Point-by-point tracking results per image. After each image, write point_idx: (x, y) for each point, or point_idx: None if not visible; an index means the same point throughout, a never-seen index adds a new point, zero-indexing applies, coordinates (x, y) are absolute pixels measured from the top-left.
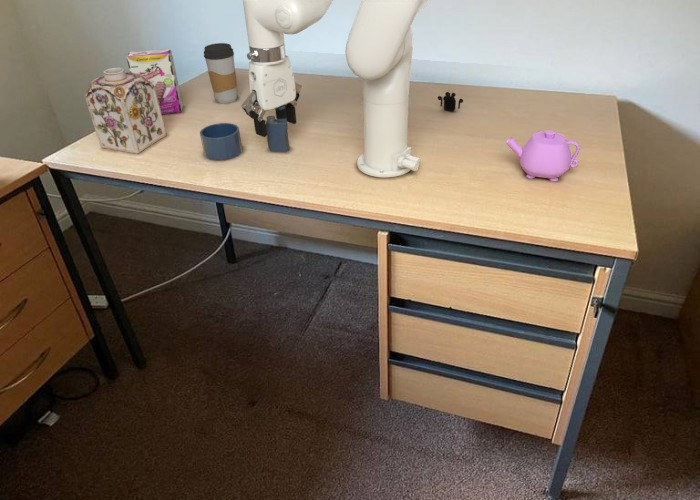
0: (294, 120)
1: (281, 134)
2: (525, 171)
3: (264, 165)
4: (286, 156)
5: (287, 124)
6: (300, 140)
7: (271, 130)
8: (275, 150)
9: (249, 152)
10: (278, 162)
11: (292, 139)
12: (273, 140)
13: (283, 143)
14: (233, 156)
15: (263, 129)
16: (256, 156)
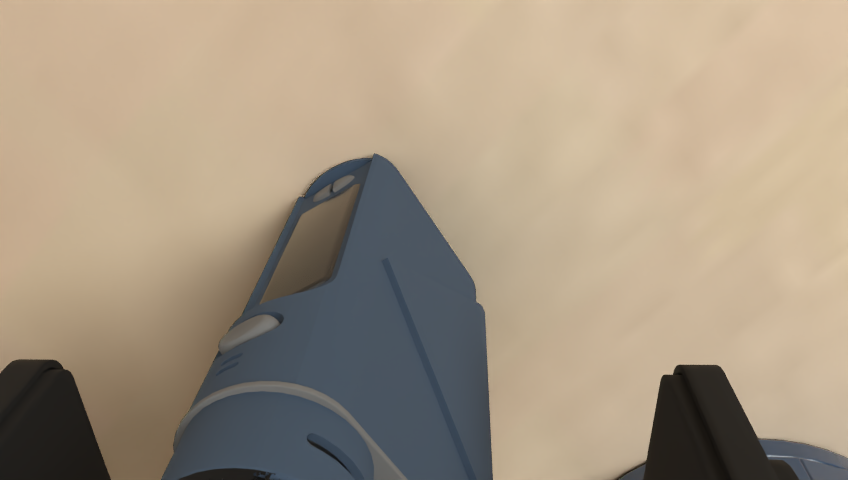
0: (17, 398)
1: (383, 302)
2: None
3: (779, 106)
4: (453, 78)
5: (217, 367)
6: (90, 248)
7: (466, 443)
8: (453, 258)
9: (611, 417)
10: (630, 32)
11: (144, 321)
12: (461, 334)
13: (388, 221)
14: (786, 450)
15: (761, 476)
16: (643, 319)
